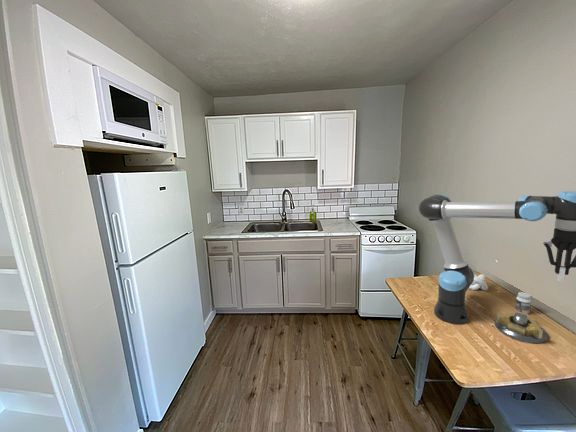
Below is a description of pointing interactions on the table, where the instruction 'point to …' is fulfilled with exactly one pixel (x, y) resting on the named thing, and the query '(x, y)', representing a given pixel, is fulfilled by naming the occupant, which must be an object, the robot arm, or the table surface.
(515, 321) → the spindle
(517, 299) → the pill bottle
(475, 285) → the white knot sculpture
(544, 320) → the table surface
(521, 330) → the taped hex socket base
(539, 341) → the hub plate
